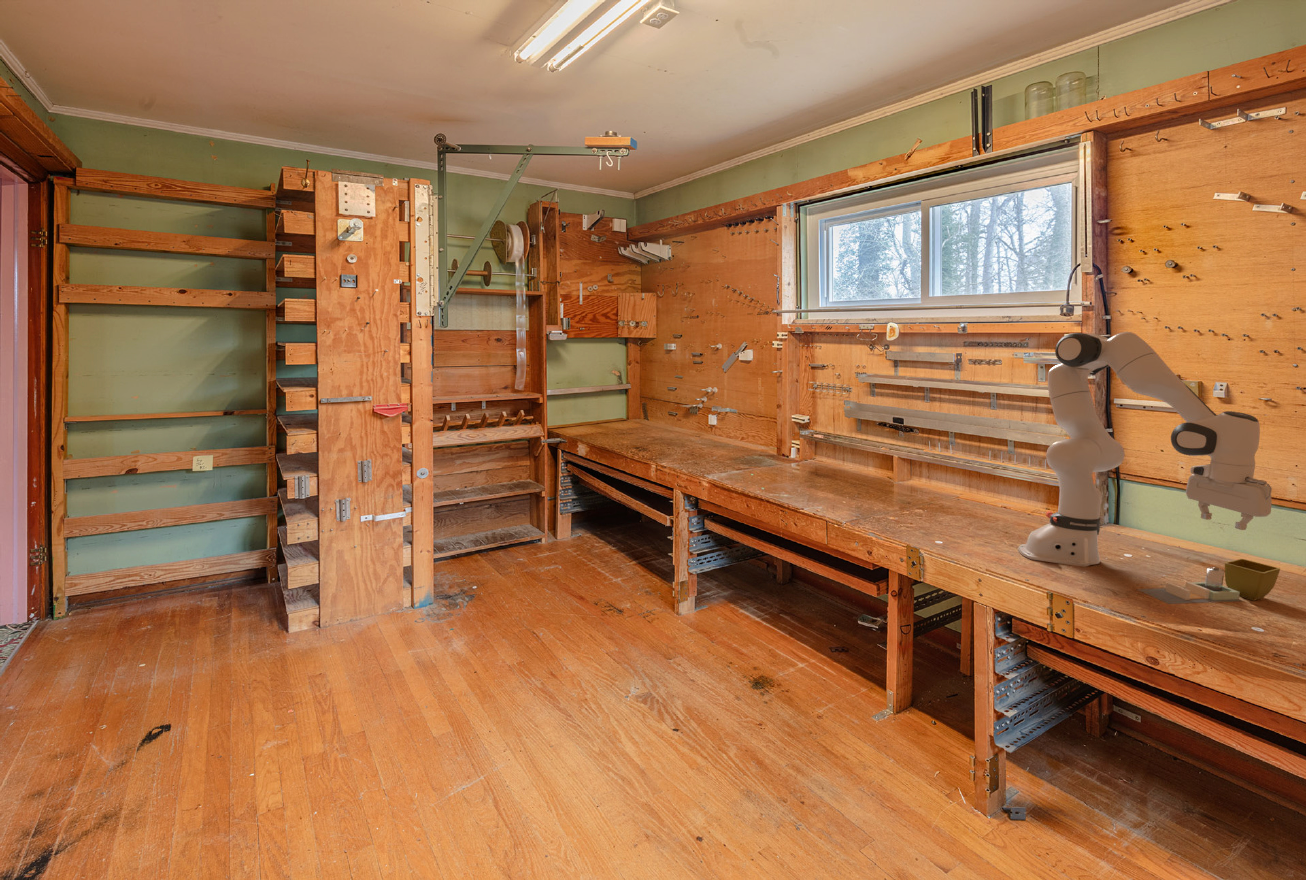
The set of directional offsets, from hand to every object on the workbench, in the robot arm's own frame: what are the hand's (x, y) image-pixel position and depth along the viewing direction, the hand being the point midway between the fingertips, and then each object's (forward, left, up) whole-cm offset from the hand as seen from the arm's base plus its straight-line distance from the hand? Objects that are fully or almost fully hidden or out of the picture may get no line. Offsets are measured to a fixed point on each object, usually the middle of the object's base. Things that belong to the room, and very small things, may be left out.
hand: (1222, 524), depth 173 cm
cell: (0, 0, -20) cm, 20 cm away
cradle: (-7, -3, -21) cm, 22 cm away
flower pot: (+10, +4, -21) cm, 24 cm away
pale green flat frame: (0, 0, -21) cm, 21 cm away
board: (-6, -3, -21) cm, 22 cm away
